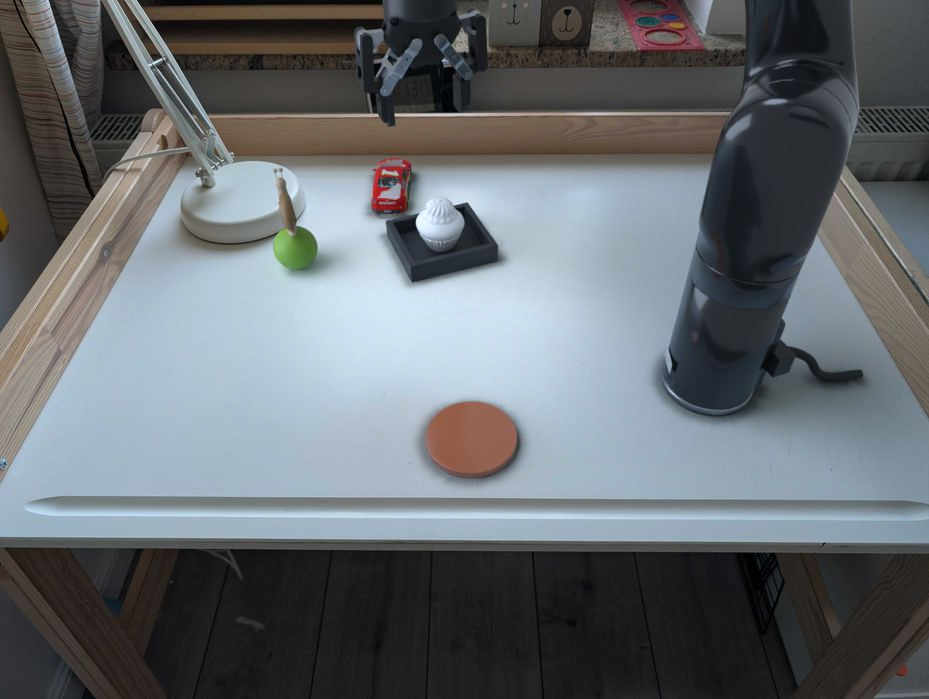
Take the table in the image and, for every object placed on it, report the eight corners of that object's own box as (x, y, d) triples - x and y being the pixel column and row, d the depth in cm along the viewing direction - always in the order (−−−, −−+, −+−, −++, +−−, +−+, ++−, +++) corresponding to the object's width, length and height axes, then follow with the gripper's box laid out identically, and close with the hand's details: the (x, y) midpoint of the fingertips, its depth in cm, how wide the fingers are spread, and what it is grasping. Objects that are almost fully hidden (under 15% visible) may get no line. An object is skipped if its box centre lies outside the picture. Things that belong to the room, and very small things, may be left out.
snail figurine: (315, 244, 95) (299, 163, 86) (324, 273, 90) (308, 190, 82) (274, 252, 93) (254, 171, 85) (281, 282, 89) (260, 199, 81)
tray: (467, 217, 99) (467, 202, 97) (497, 261, 92) (498, 245, 90) (387, 236, 96) (385, 220, 94) (411, 282, 89) (410, 266, 87)
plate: (495, 396, 75) (495, 391, 75) (531, 461, 69) (532, 456, 69) (414, 421, 73) (413, 415, 72) (444, 490, 67) (443, 485, 66)
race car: (378, 170, 108) (376, 145, 105) (414, 170, 108) (412, 145, 105) (367, 219, 99) (364, 194, 96) (406, 219, 98) (404, 194, 96)
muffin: (469, 234, 95) (469, 188, 90) (458, 262, 91) (457, 215, 86) (424, 229, 96) (421, 183, 91) (411, 256, 92) (408, 209, 87)
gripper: (359, -18, 65) (376, 144, 76) (501, -39, 69) (496, 118, 80) (336, -42, 70) (354, 114, 81) (469, -61, 74) (469, 91, 85)
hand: (425, 116), depth 81 cm, fingers open, 8 cm apart
